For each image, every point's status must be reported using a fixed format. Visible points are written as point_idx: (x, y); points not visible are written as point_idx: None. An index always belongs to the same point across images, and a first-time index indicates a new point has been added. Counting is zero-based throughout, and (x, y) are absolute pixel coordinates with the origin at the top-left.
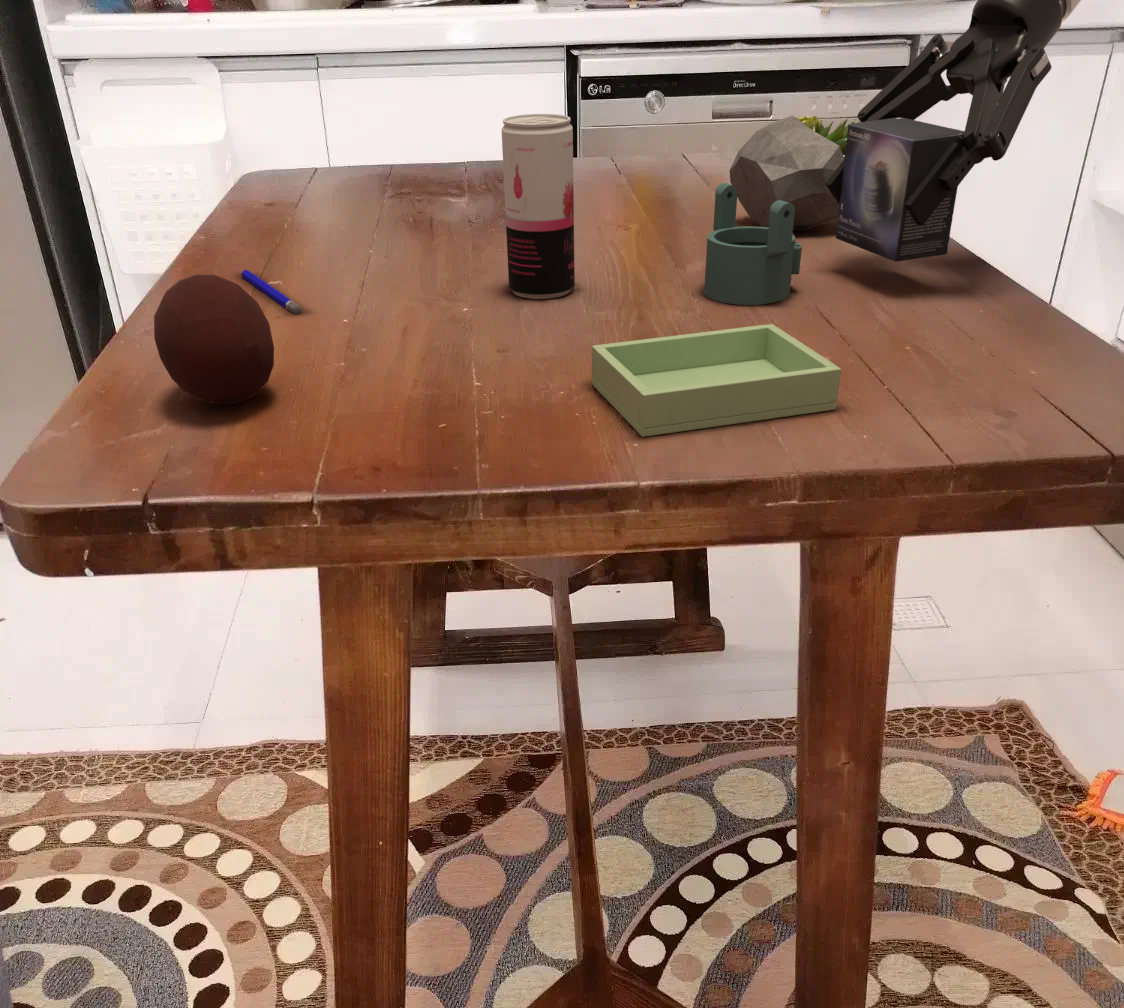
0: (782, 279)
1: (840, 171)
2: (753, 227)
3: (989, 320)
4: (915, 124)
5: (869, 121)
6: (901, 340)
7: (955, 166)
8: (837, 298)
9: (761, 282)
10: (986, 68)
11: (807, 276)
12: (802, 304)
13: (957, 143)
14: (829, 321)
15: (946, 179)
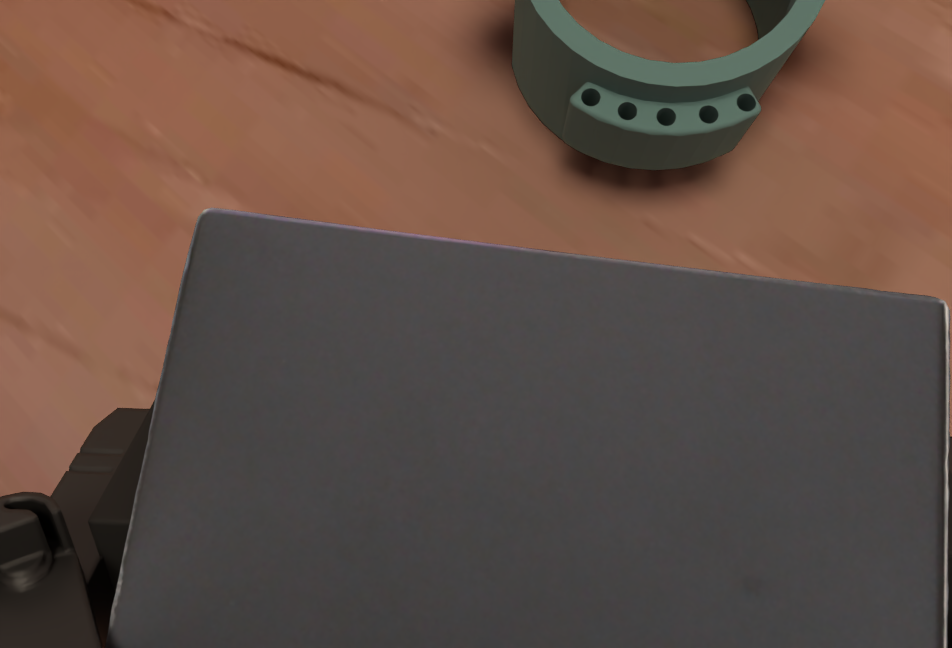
0: (516, 40)
1: None
2: (790, 22)
3: (4, 453)
4: (552, 568)
5: (914, 453)
6: (43, 119)
7: (88, 465)
8: (443, 229)
9: None
10: None
11: None
12: (453, 107)
13: (93, 516)
14: (283, 69)
15: (116, 413)
